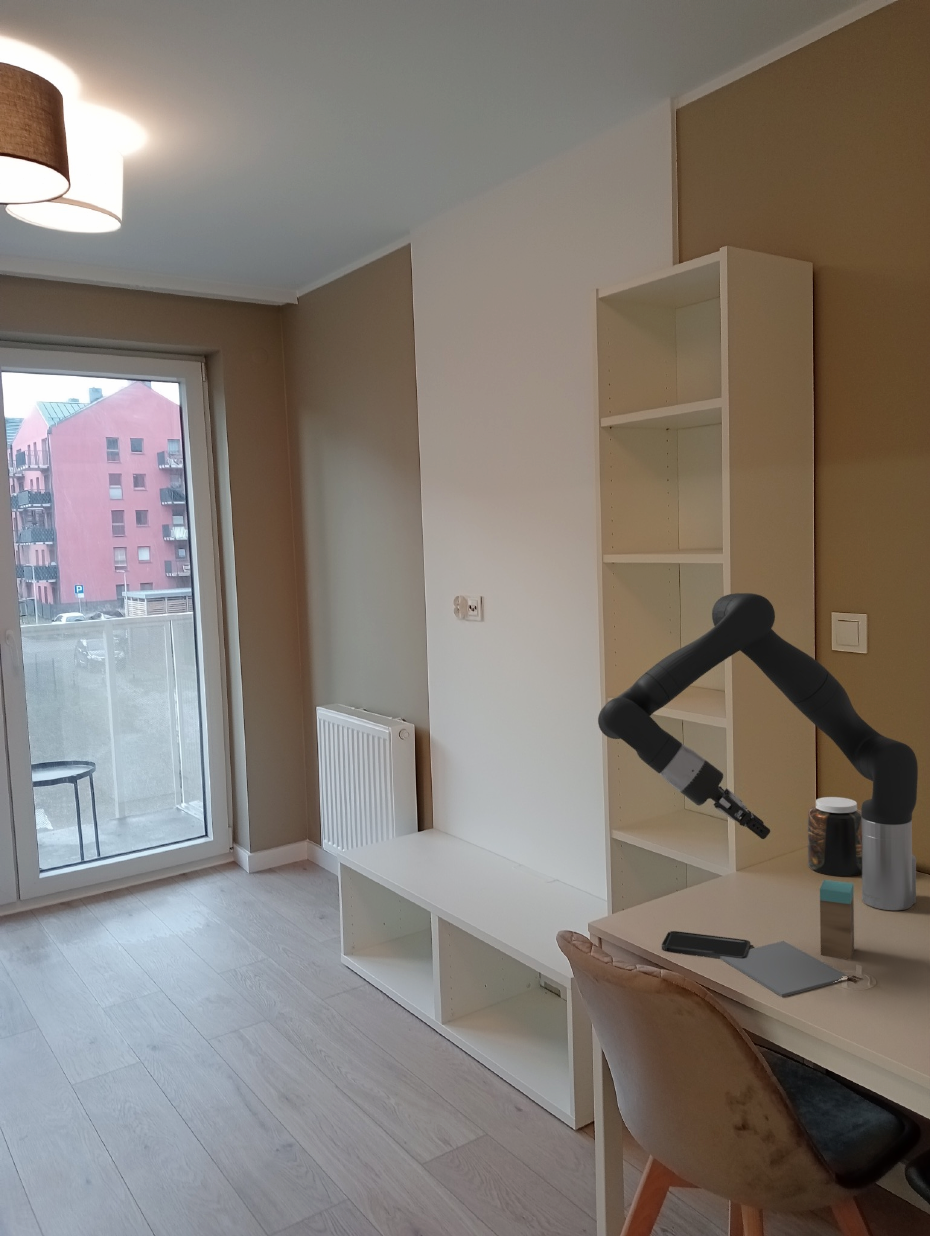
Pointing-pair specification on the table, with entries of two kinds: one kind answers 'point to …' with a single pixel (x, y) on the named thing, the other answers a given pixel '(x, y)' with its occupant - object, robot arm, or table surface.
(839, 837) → the jar
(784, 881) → the table surface
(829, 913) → the walnut block
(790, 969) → the grey mat
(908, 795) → the robot arm
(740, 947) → the phone
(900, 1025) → the table surface
